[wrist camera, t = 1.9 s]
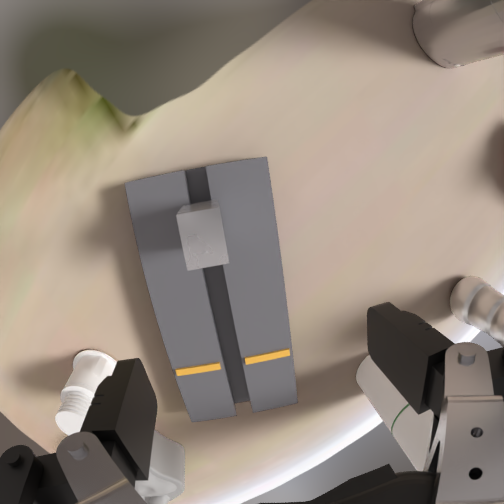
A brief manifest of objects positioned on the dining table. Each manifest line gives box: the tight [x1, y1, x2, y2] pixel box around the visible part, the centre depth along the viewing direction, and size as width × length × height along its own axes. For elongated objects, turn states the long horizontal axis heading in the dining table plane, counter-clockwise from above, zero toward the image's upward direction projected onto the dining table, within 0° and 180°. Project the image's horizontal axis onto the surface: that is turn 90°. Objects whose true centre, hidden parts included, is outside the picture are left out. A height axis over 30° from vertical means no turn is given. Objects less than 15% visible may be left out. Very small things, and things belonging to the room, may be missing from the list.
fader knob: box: [176, 199, 229, 271], centre depth 26 cm, size 4×3×9 cm
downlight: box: [55, 350, 117, 436], centre depth 30 cm, size 8×7×10 cm
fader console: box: [125, 157, 298, 422], centre depth 32 cm, size 28×13×3 cm, turn 9°
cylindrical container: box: [356, 354, 433, 471], centre depth 28 cm, size 7×7×25 cm
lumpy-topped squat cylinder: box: [135, 429, 185, 504], centre depth 34 cm, size 10×13×9 cm
